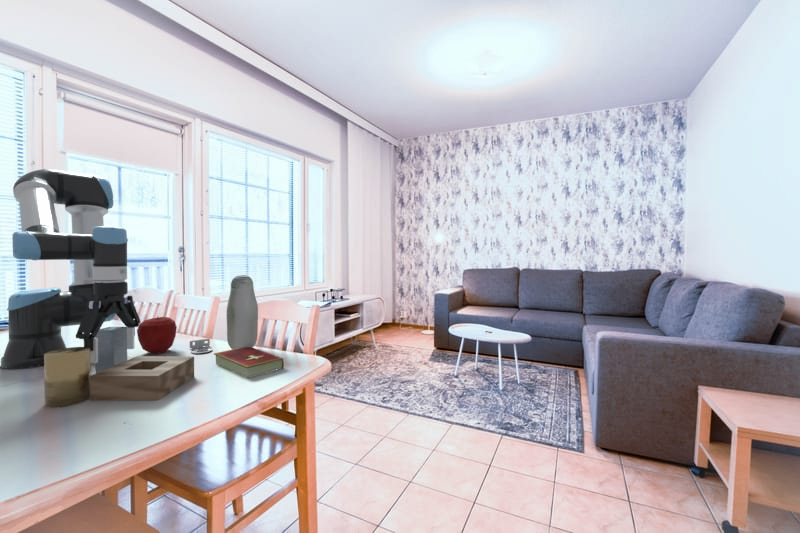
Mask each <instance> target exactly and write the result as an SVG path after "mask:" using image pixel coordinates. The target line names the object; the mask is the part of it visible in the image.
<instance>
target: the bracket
mask: <svg viewBox="0 0 800 533" xmlns="http://www.w3.org/2000/svg"><path fill="white" fill-rule="evenodd" d="M210 340H211V339H210V338H204V339H196V340H190V341H189V349H190V348H196V349H195V350H196V351H192V353H191V354H194V355H196V354H205V353H209V352H210V351H211V352H212V351H213V349H212V350H208V349H205V348H199V349H200V350H198V348H197V347H203V346H209V345H210V344H211V343H210V342H211V341H210Z"/></svg>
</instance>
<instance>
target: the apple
mask: <svg viewBox="0 0 800 533" xmlns="http://www.w3.org/2000/svg"><path fill="white" fill-rule="evenodd" d="M177 328H178V326H177V324H176V321H175V320H174V319H173V318H171V317H168V316H160V317H159V316H157V317H153V318H148V319H144V320H143V321H142V322H140V323H139V326H138V327H137V329H136V333H137V334H136V335H137V340H138V341H139V342H138V343H139V344H140V346H141V349H142V350H144V351H145V352H147V353H149V354H153V355H155V354H156V355H157V354H158V355H159V354H163V353H166V352H168V350H169V349H170V348H172V346H173V344H174V341H175V339H176V334H177Z"/></svg>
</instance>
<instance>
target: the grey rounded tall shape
mask: <svg viewBox="0 0 800 533" xmlns="http://www.w3.org/2000/svg"><path fill="white" fill-rule="evenodd" d="M254 289H255V288H254V281H253V279H252V278H251V277H250V276H249V275H244V274H242V275H241V274H239V275H236V276H234V277H233V278H232V279H231V283H230V293H229V297H228V302H227V306H226V338H227V340H226V341H227V344H228V346H229V347H230V350H233V349H237V348H242V347H247V346H249V347H252V348H254V347H255V345H256V343H257V341H258V333H259V329H258V324H259V323H258V321H259V305H258V301H257V297H256V294H255V290H254Z"/></svg>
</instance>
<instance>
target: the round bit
mask: <svg viewBox="0 0 800 533" xmlns="http://www.w3.org/2000/svg"><path fill="white" fill-rule="evenodd" d="M91 365H92V363H90V348H89V347H84V346H74V347H66V348H64V349H58V350H53V351H50V352H47V353H45V354H44V365H43V367H44V370H43V371H44V373H43V374H44V404H45V405H44V407H46V408H48V407H49V409H55V408H56V409H58V407H59V408H65V407H71V406H74V405H79V404H81V403H83V402H86V401H87V400H90V376H91V374H92V372H91V369H92V368H91Z"/></svg>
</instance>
